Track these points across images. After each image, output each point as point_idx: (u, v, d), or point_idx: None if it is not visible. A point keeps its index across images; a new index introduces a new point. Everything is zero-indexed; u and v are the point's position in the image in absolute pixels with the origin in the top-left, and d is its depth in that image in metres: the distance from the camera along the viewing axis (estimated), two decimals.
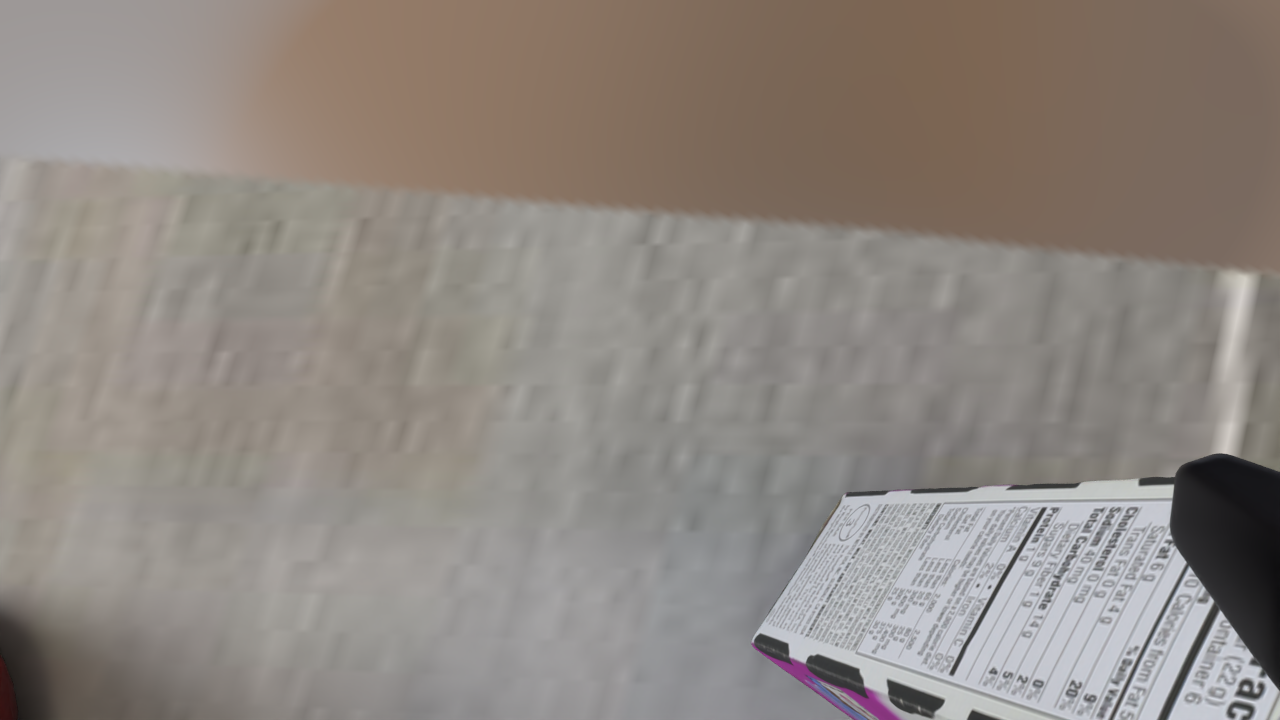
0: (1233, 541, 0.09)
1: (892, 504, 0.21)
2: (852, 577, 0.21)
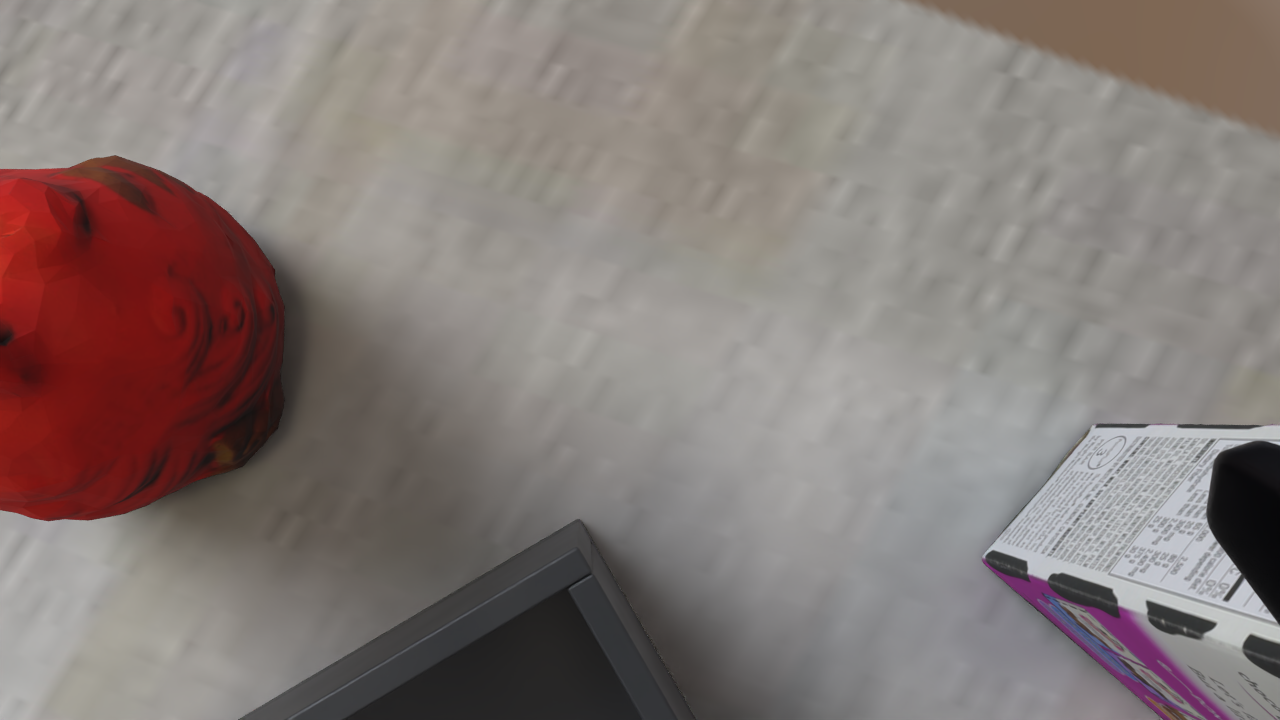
0: (1273, 527, 0.09)
1: (1154, 437, 0.21)
2: (1104, 504, 0.21)
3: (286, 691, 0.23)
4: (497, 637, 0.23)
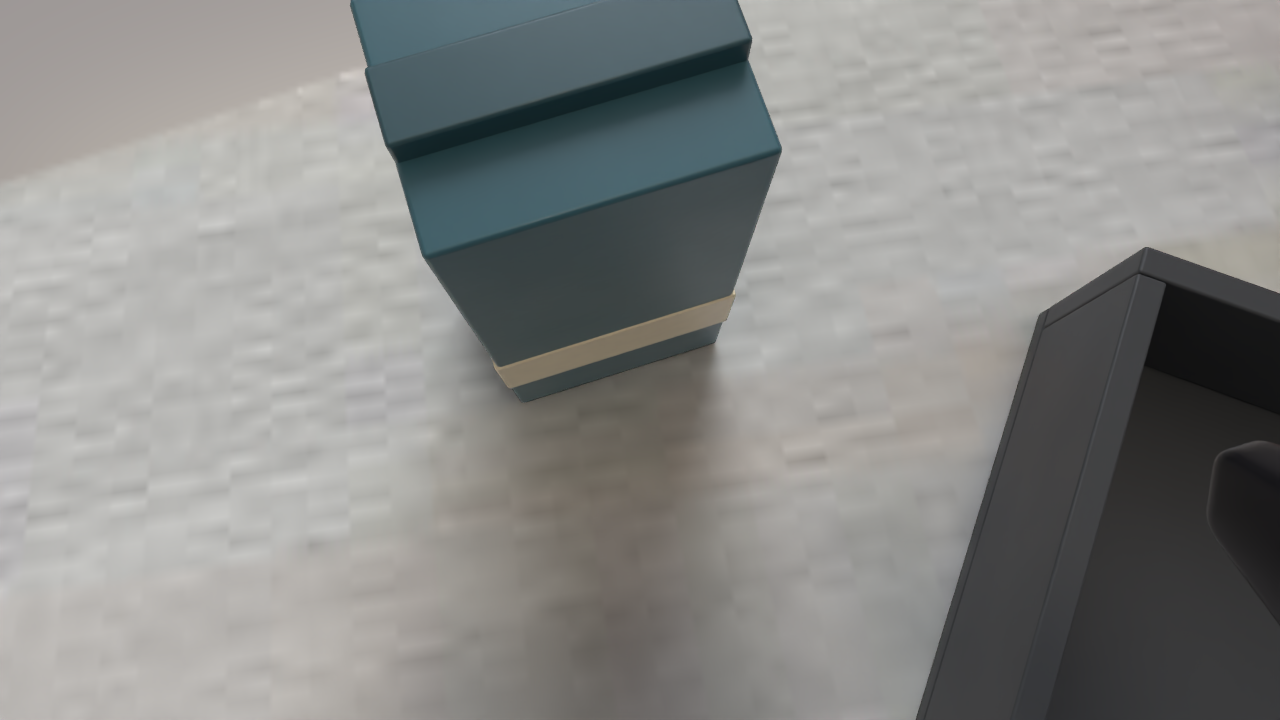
0: (1273, 527, 0.09)
1: None
2: None
3: None
4: None
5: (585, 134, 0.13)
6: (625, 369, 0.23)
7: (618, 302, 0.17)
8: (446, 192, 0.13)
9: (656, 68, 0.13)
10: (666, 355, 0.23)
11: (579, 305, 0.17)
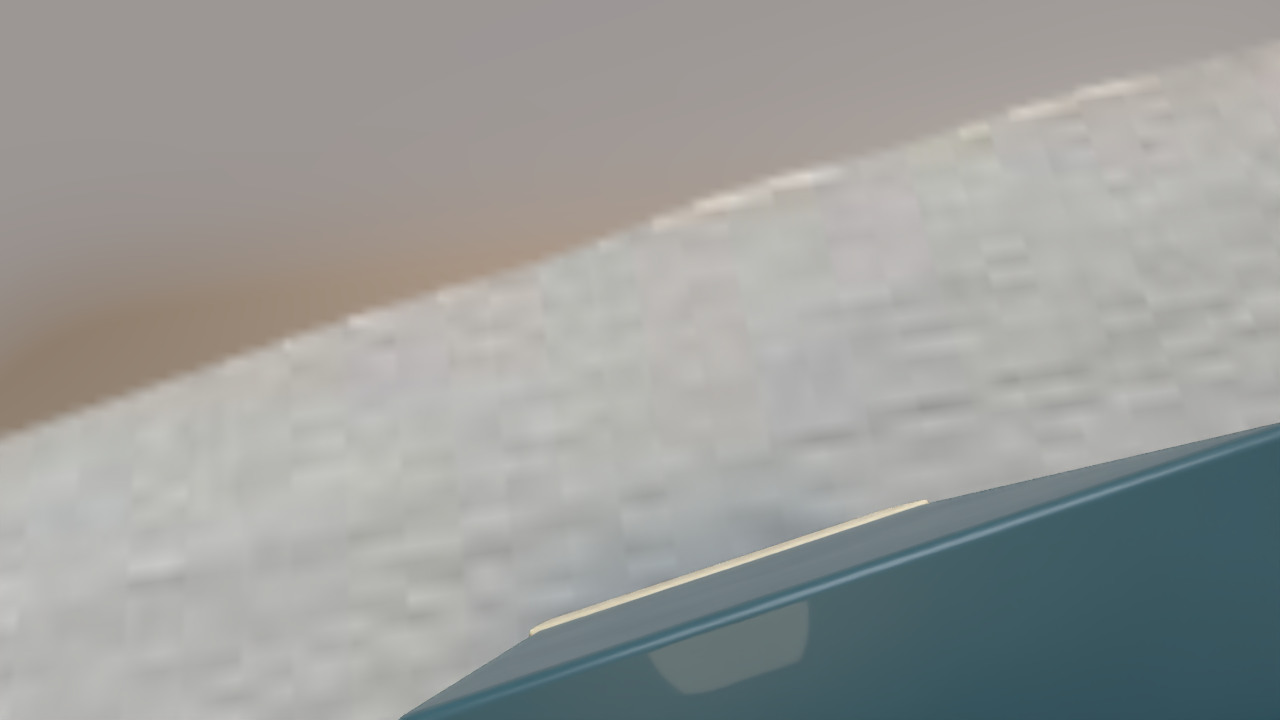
0: None
1: None
2: None
3: None
4: None
5: None
6: None
7: None
8: None
9: None
10: None
11: None
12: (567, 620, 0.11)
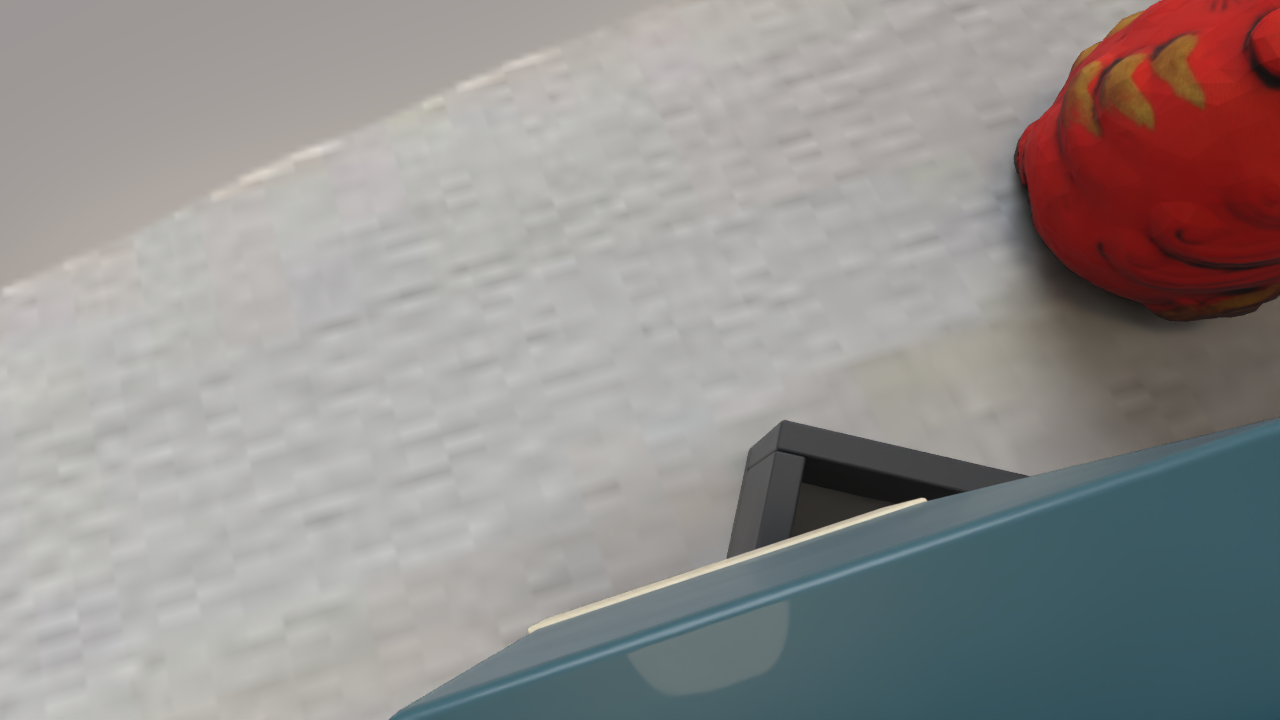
0: None
1: None
2: None
3: None
4: None
5: None
6: None
7: None
8: None
9: None
10: None
11: None
12: (565, 618, 0.11)
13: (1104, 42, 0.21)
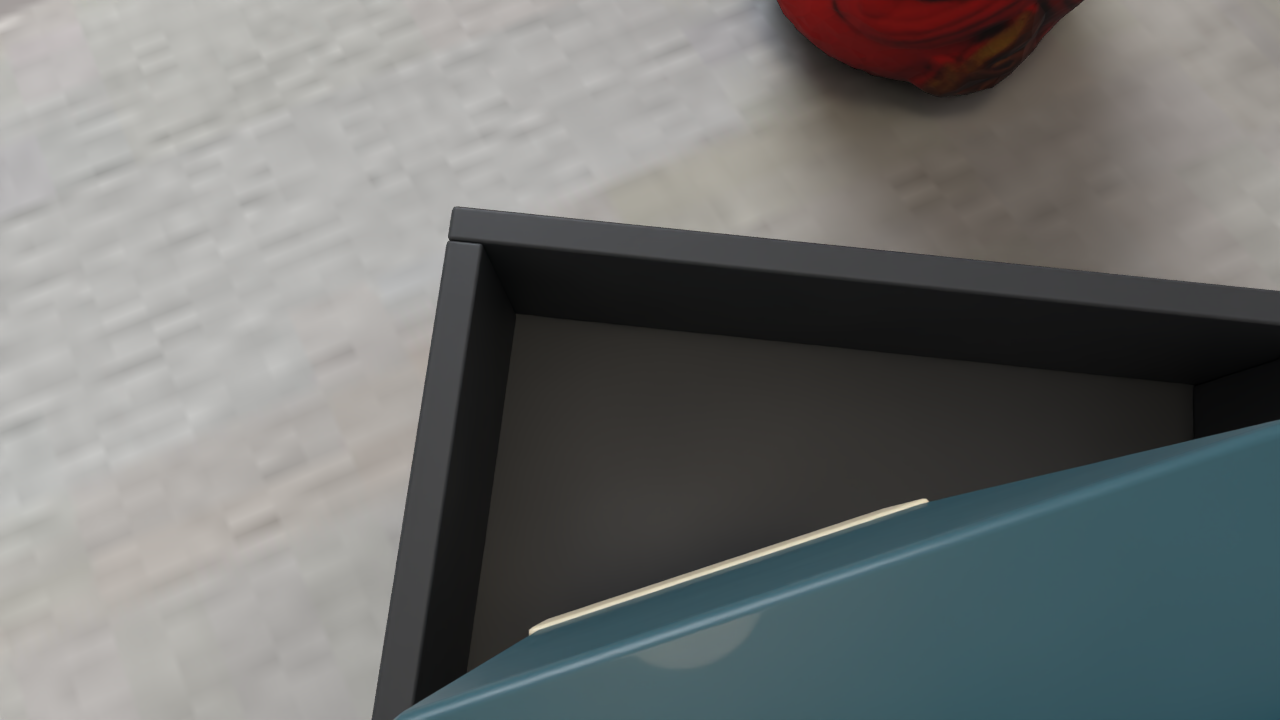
0: None
1: None
2: None
3: None
4: (1071, 410, 0.20)
5: None
6: None
7: None
8: None
9: None
10: None
11: None
12: (566, 619, 0.11)
13: None
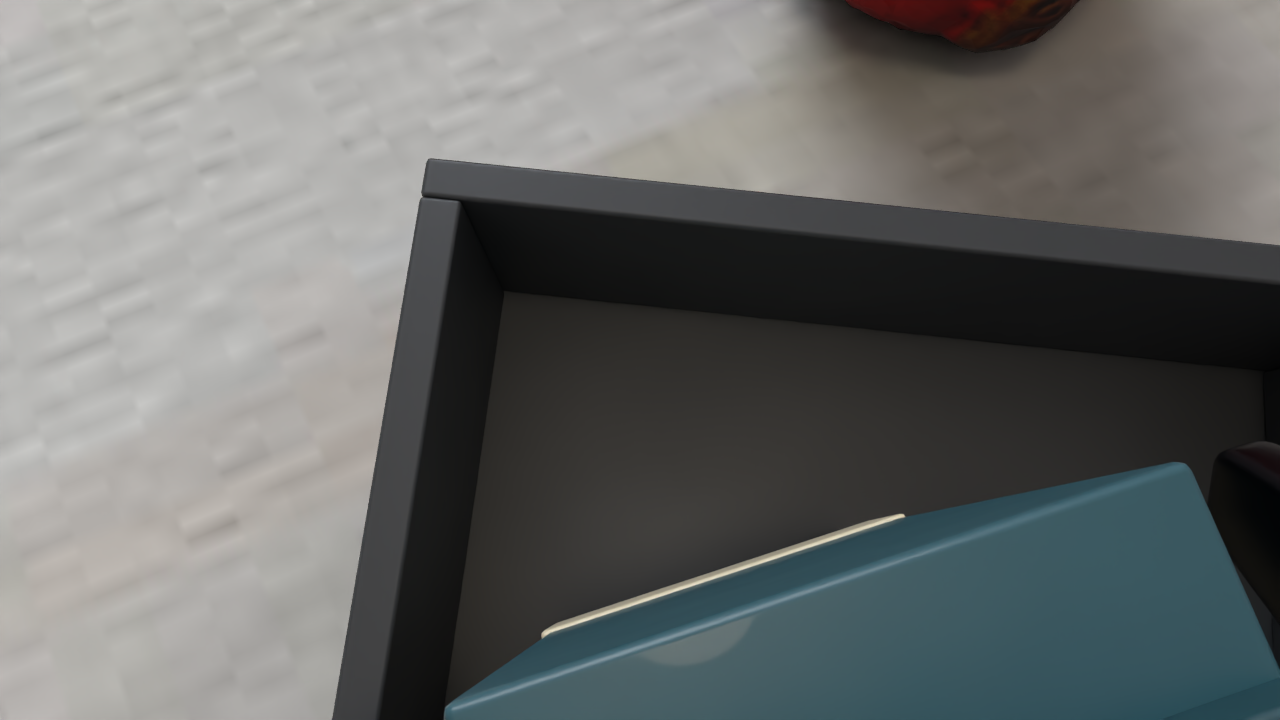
0: (1274, 527, 0.09)
1: None
2: None
3: None
4: (1127, 399, 0.17)
5: None
6: None
7: None
8: None
9: None
10: None
11: None
12: (576, 623, 0.12)
13: None
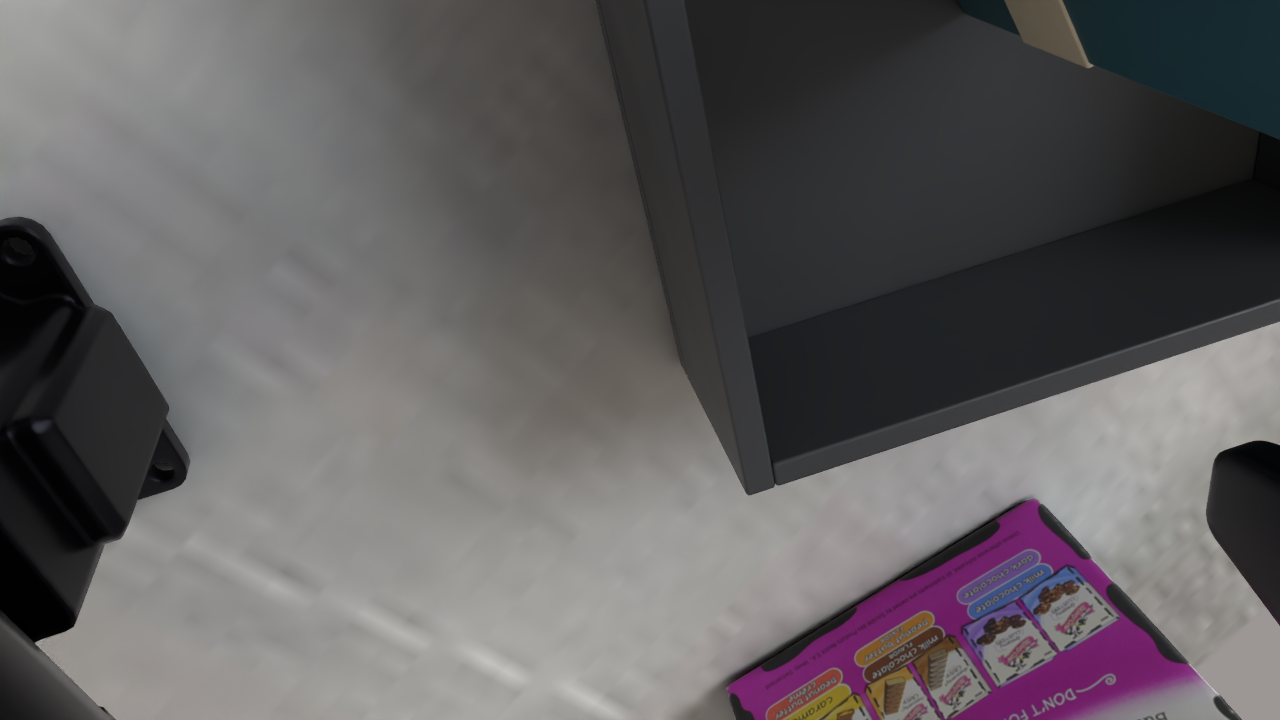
0: (1273, 527, 0.09)
1: None
2: None
3: None
4: None
5: None
6: None
7: None
8: None
9: None
10: None
11: None
12: None
13: None
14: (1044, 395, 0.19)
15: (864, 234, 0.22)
